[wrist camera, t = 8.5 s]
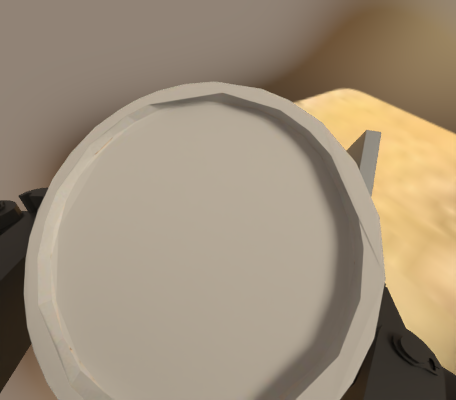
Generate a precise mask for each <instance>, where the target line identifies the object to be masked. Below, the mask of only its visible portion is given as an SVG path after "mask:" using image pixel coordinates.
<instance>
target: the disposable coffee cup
mask: <svg viewBox="0 0 456 400" xmlns="http://www.w3.org/2000/svg"><path fill="white" fill-rule="evenodd" d="M384 284H385V269H384V258H383V248H382V238H381V227H380V217H379V215H378V213H377V210H376V208H375V206H374V203H373V201H372V199H371V196H370V194H369V192H368V189H367V187H366V185H365V182H364V180H363V178H362V175H361V173H360V171H359V168H358V166H357V164H356V162H355V161H354V160H353V158H352V157H351V156H350V155H349V154H348V153H347V151H346V150H345V149H344V148H343V147H342V145H341V144H340V143H339V142H338V141H337V140H336V138H335V137H334V136H333V135H332V134H331V133H330V131H329V130H328V129H327V128H326V127H325V125H324V124H323V123H322V122H321V121H319V120H318V119H316V118H315V117H313V116H312V115H310V114H309V113H307V112H306V111H304V110H303V109H301V108H300V107H298V106H297V105H295V104H294V103H292V102H291V101H289V100H287V99H284V98H282V97H279V96H277V95H275V94H272V93H270V92H268V91H265V90H263V89H258V88H252V87H245V86H239V85H232V84H227V83H220V82H206V83H194V84H184V85H180V86H176V87H172V88H168V89H164V90H160V91H157V92H155V93H152V94H150V95H147V96H145V97H142V98H140V99H137V100H136V101H134V102H132V103H130V104H129V105H127V106H125V107H123V108H122V109H120V110H118V111H117V112H116V113H114V114H113V115H112V116H110V117H109V118H107V119H106V120H105V121H103V122H102V123H101V124H99V125H98V126H96V127H95V128H94V129H93V130H92V131H91V132H90V133H89V134H88V135H87V136H86V137H85V139H84V140H83V141H82V142H81V143H80V144H79V145H78V146H77V147H76V148H75V150H73V151H72V153H71V154H70V155H69V156H68V158H67V159H66V161H65V162H64V164H63V165H62V167H61V168H60V169H59V171H58V172H57V174H56V175H55V177H54V178H53V180H52V182H51V184H50V186H49V188H48V190H47V192H46V194H45V197H44V199H43V201H42V203H41V205H40V207H39V209H38V212H37V215H36V219H35V222H34V225H33V228H32V231H31V234H30V237H29V243H28V249H27V254H26V262H25V279H24V301H25V310H26V320H27V328H28V332H29V335H30V339H31V342H32V346H33V349H34V353H35V356H36V358H37V360H38V362H39V365H40V367H41V370H42V372H43V375H44V377H45V379H46V381H47V384H48V385H49V387H50V388H51V390H52V391H53V393H54V394H55V396H56V397H57V399H58V400H340V399H341V397H342V396H343V395H344V393H345V392H346V391H347V389H348V388H349V387H350V385H351V384H352V383H353V381H354V379H355V377H356V375H357V373H358V370H359V368H360V366H361V364H362V362H363V360H364V358H365V356H366V354H367V352H368V350H369V348H370V346H371V344H372V342H373V340H374V337H375V332H376V326H377V321H378V316H379V310H380V305H381V300H382V294H383V289H384Z"/></svg>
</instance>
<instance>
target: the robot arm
mask: <svg viewBox="0 0 456 400" xmlns="http://www.w3.org/2000/svg"><path fill="white" fill-rule="evenodd" d="M47 190H48V188H40V189H35V190H31V191H28V192H25V193H23V194H21V195H19V198H20V199H21V201H22V202H23V204H24V206H25V207H26V209H27V210H28V211H21V210H20V209H19V207H18V206H17V204H16V203H15V202H13V201H0V393H1V391H2V389H3V387H4V386H5V385H6V383H7V381H8V380H9V378H10V377H11V375H12V373H13V372H14V370H15V369H16V367H17V366H18V364H19V362H20V361H21V359H22V358H23V356H24V355H25V353H26V351H27V350H28V348H29V346H30V345H31V343H32V342H31V339H30V335H29V332H28V328H27V320H26V310H25V301H24V279H25V262H26V254H27V249H28V243H29V237H30V234H31V231H32V228H33V225H34V222H35V219H36V215H37V212H38V209H39V207H40V205H41V203H42V201H43V199H44V197H45V194H46V192H47ZM385 285H386V284H384V289H383V294H382V300H381V305H380V310H379V316H378V321H377V326H376V332H375V337H374V340H373V342H372V344H371V346H370V348H369V350H368V352H367V354H366V356H365V358H364V360H363V362H362V364H361V366H360V368H359V370H358V373H357V375H356V377H355V379H354V381H353V383H352V384H351V385H350V387H349V388H348V389H347V391H346V392H345V393H344V395H343V396H342V397H341V399H340V400H456V375H454V374H453V373H451V372H450V371H448V370H446V369H445V368H443V367H442V366H441V365H440V363H439V361H438V360H437V358H436V356H435V355H434V353H433V352H432V351H431V350H430V349H429V348H428V346H427V345H426V344H425V343H424V342H423V341H422V340H421V339H419V338H418V337H417V336H416V335H415V334H413V333H412V332H411V331H409V330H407V329H406V328H405V325H404V323H403V321H402V319H401V317H400V315H399V312H398V310H397V308H396V306H395V304H394V302H393V299H392V297H391V295H390V293H389V291H388V288H387V287H385Z"/></svg>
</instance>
